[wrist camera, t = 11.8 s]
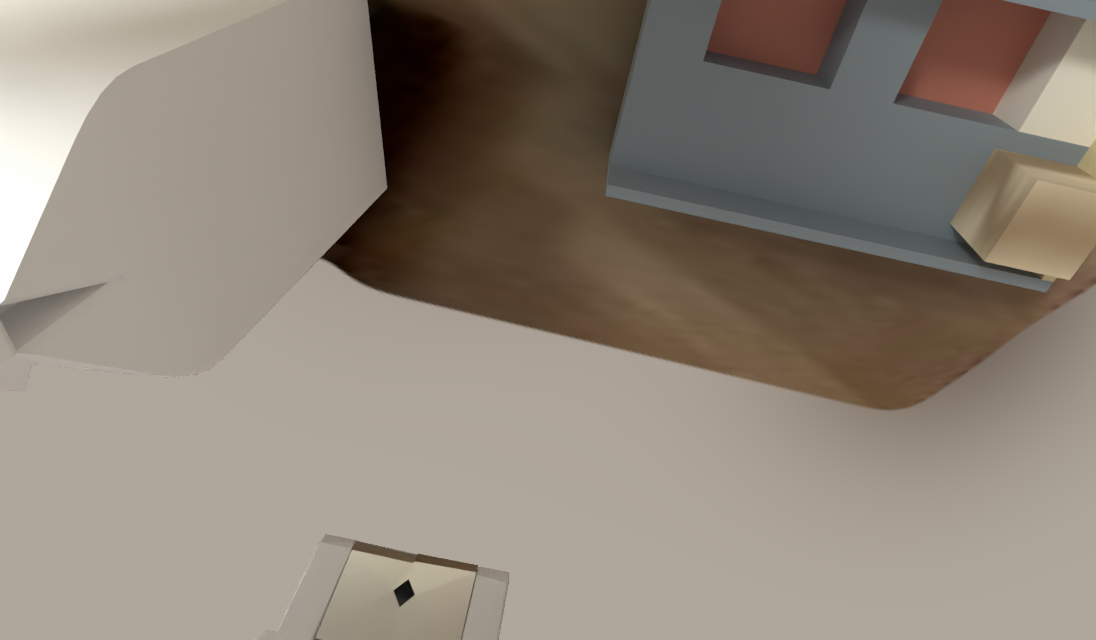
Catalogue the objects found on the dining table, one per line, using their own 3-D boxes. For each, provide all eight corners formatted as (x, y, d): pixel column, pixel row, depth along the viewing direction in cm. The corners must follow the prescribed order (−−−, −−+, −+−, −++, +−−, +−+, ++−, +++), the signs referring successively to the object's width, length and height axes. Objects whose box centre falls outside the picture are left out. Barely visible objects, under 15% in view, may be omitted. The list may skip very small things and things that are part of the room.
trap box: (671, -98, 30) (678, -93, 25) (1144, 10, 30) (1235, 34, 25) (608, 155, 36) (605, 195, 32) (994, 241, 37) (1045, 292, 32)
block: (994, 147, 31) (1037, 180, 28) (1076, 166, 31) (1129, 200, 28) (949, 223, 33) (984, 261, 30) (1026, 240, 33) (1069, 280, 30)
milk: (363, -32, 33) (-160, 149, 11) (387, 188, 39) (85, 571, 18) (131, -45, 33) (-775, 101, 12) (192, 173, 40) (-324, 521, 18)
